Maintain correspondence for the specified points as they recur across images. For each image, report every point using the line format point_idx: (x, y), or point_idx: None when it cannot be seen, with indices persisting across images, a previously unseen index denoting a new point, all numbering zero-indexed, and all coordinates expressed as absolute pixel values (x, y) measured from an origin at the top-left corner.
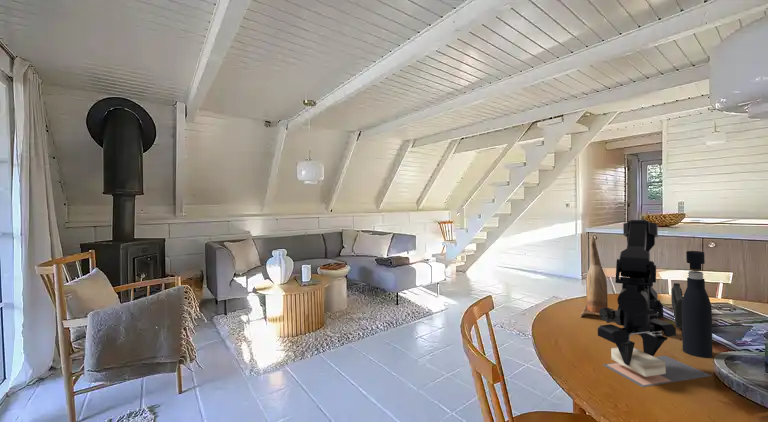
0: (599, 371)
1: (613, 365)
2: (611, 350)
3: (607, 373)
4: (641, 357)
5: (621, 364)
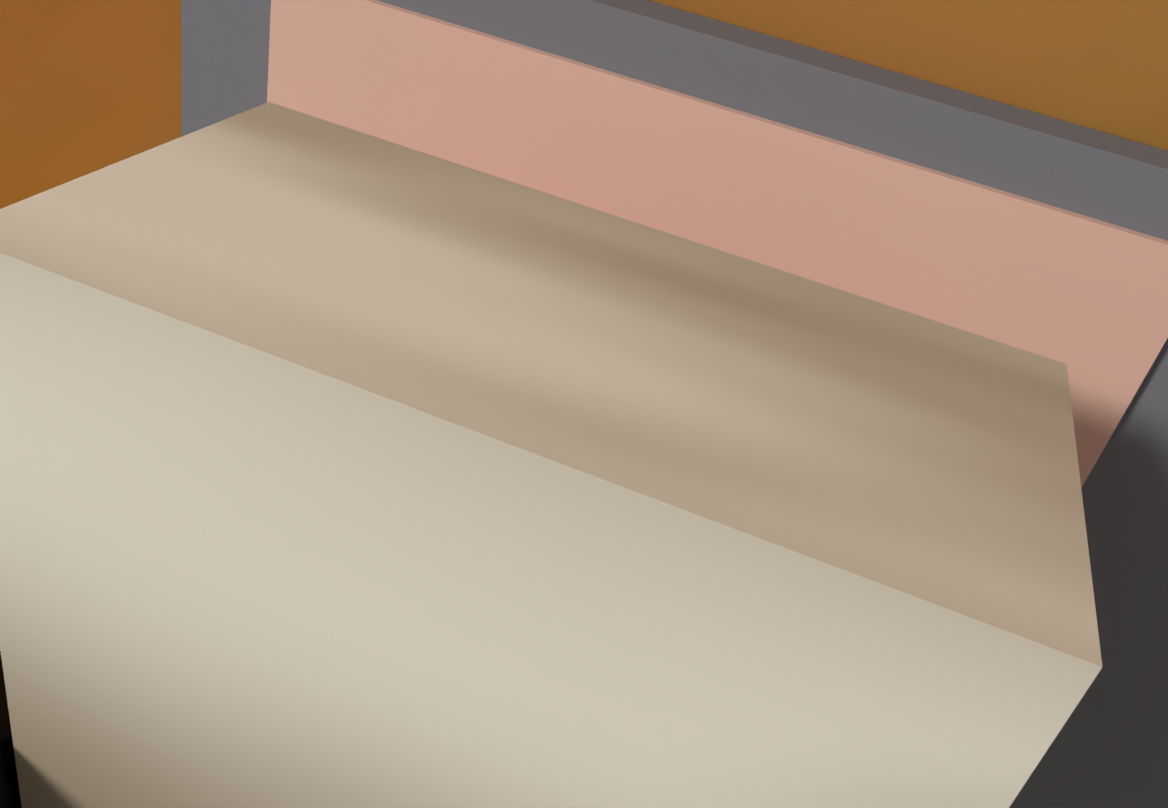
0: (4, 9)
1: (392, 112)
2: (18, 223)
3: (100, 168)
4: None
5: (651, 203)
